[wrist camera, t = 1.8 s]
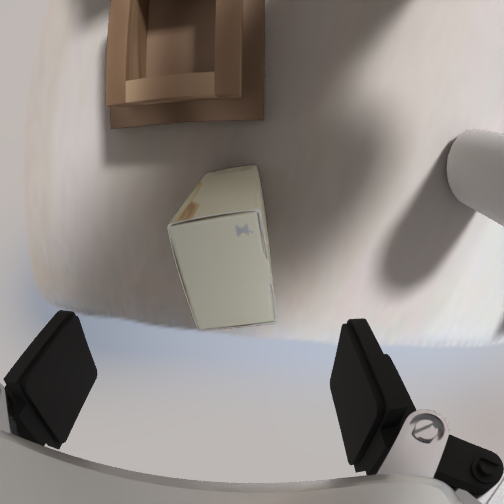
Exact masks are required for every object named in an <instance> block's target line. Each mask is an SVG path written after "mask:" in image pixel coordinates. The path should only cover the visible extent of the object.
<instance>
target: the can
mask: <svg viewBox="0 0 504 504" xmlns="http://www.w3.org/2000/svg"><path fill="white" fill-rule="evenodd" d="M447 178H448V183H449V186H450V188H451V191H452V193H453V194H454V196H455V197H456V198H457V200H458V201H460V202H461V203H463V204H464V205H466V206H468V207H470V208H472V209H474V210H476V211H477V212H479V213H481V214H483V215H485V216H487V217H488V218H490V219H492V220H494V221H495V222H497V223H499V224H501V225H502V226H504V134H502V133H496V132H490V131H484V130H477V129H473V130H466V131H465V132H463V133H462V134H460V135H459V136H458V137H457V139H456V140H455V141H454V143H453V144H452V146H451V149H450V152H449V154H448V160H447Z"/></svg>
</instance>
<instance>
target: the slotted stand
mask: <svg viewBox="0 0 504 504" xmlns="http://www.w3.org/2000/svg"><path fill="white" fill-rule="evenodd" d="M264 28H265V0H111V5H110V14H109V24H108V37H107V54H106V106H110V118H111V129H117V128H125V127H134V126H143V125H153V124H165V123H178V122H195V121H223V120H264Z"/></svg>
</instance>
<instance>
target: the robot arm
mask: <svg viewBox="0 0 504 504" xmlns="http://www.w3.org/2000/svg"><path fill="white" fill-rule="evenodd" d="M96 378H97V369H96V366H95V363H94V361H93V358H92V355H91V353H90V350H89V347H88V344H87V342H86V339H85V335H84V332H83V329H82V326H81V323H80V320H79V318H78V316H76V315H75V313H74V312H72V311H63V310H60V311H58V312H57V313H56V314H55V315H54V317H53V318H52V319H51V320H50V321H49V322H48V324H47V325H46V326H45V327H44V328H43V330H42V331H41V332H40V333H39V334H38V336H37V337H36V338H35V339H34V341H33V342H32V343H31V344H30V345H29V347H28V348H27V349H26V351H25V352H24V353H23V354H22V355H21V357H20V358H19V360H18V361H17V362H16V363H15V364H14V366H13V367H12V368H11V370H10V371H9V372H8V374H7V375H6V377H5V378H4V381H5V383H6V386H5V388H4V387H3V385H2V384H0V504H504V472H503V470H504V468H503V463H502V461H501V459H500V458H499V456H498V455H497V454H495V453H493V452H492V451H489V450H487V449H484V448H481V447H479V446H476V445H474V444H471V443H469V442H466V441H464V440H461V439H459V438H457V437H454V436H452V435H449V426H448V423H447V421H446V419H445V418H444V417H443V416H442V415H441V414H439V413H437V412H435V411H432V410H428V409H422V410H417V411H416V409H415V406H414V404H413V402H412V400H411V399H410V396H409V394H408V392H407V390H406V388H405V386H404V384H403V382H402V380H401V377H400V376H399V374H398V371H397V370H396V368H395V366H394V364H393V362H392V360H391V358H390V356H389V355H387V354H383V352H382V350H381V348H380V346H379V344H378V342H377V340H376V338H375V336H374V334H373V332H372V330H371V328H370V326H369V324H368V322H367V321H366V319H349V320H348V321H347V324H343V325H342V328H341V333H340V338H339V343H338V347H337V352H336V357H335V362H334V366H333V370H332V374H331V379H330V389H331V393H332V397H333V401H334V405H335V408H336V413H337V417H338V421H339V425H340V429H341V433H342V438H343V442H344V446H345V450H346V454H347V459H348V462H349V464H350V465H354V467H355V471H356V472H362V471H366V474H367V475H366V476H358V477H348V478H338V479H329V480H319V481H307V482H289V483H224V482H209V481H197V480H187V479H178V478H170V477H163V476H157V475H151V474H145V473H140V472H134V471H129V470H125V469H120V468H116V467H111V466H107V465H103V464H99V463H95V462H91V461H88V460H84V459H81V458H78V457H74V456H71V455H68V454H65V453H61V452H59V451H56V450H53V449H50V448H47V447H45V446H44V445H45V443H46V444H47V445H48V446H51V447H54V448H56V449H60V447H61V445H62V443H64V442H66V440H67V438H68V436H69V433H70V431H71V429H72V427H73V425H74V423H75V420H76V419H77V417H78V414H79V412H80V410H81V408H82V406H83V404H84V402H85V400H86V398H87V396H88V394H89V392H90V390H91V388H92V386H93V384H94V382H95V380H96Z"/></svg>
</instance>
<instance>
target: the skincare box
mask: <svg viewBox="0 0 504 504" xmlns="http://www.w3.org/2000/svg"><path fill="white" fill-rule="evenodd" d="M167 230H168V235H169V240H170V244H171V249H172V253H173V257H174V260H175V264H176V268H177V271H178V274H179V278H180V281H181V284H182V287H183V290H184V293H185V296H186V299H187V302H188V305H189V308H190V311H191V313H192V316H193V319H194V321H195V324H196V327H197V329H198V330H212V329H227V328H239V327H250V326H259V325H268V324H274V323H275V322H276V321H277V311H276V302H275V292H274V283H273V274H272V265H271V256H270V247H269V238H268V229H267V221H266V213H265V206H264V200H263V194H262V188H261V183H260V178H259V173H258V168H257V165H250V166H242V167H235V168H228V169H223V170H217V171H213V172H209V173H206V174H205V176H204V177H203V178H202V179H201V180H200V182H199V183H198V185H197V186H196V187H195V188H194V190H193V191H192V192H191V194H190V195H189V196H188V198H187V199H186V200H185V202H184V203H183V204H182V206H181V207H180V208H179V210H178V211H177V213H176V214H175V215H174V217H173V218H172V220H171V221H170V222H169V223H168V225H167Z"/></svg>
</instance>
